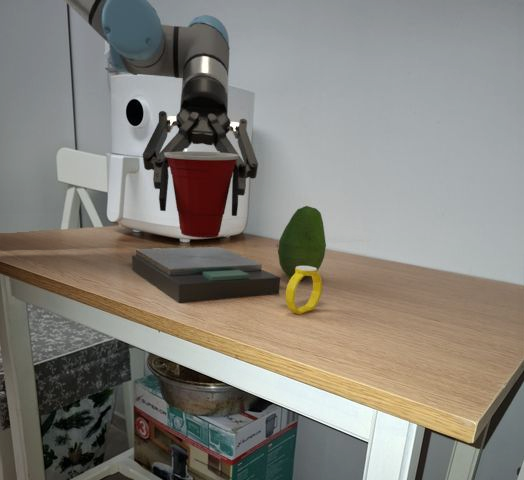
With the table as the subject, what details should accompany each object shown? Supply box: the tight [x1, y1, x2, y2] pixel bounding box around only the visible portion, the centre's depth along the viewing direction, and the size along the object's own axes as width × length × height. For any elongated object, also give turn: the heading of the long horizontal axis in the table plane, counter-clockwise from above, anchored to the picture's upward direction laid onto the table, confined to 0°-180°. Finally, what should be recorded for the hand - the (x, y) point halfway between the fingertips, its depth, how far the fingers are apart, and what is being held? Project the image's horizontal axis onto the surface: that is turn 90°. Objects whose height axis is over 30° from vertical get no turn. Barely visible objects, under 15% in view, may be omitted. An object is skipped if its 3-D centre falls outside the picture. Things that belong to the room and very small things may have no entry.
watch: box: [284, 266, 323, 315], centre depth 64 cm, size 6×3×6 cm, turn 136°
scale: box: [131, 246, 281, 304], centre depth 75 cm, size 19×16×4 cm
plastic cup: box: [164, 150, 240, 239], centre depth 72 cm, size 11×11×12 cm
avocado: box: [277, 205, 327, 281], centre depth 81 cm, size 8×8×12 cm
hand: (198, 207), depth 70 cm, fingers closed on plastic cup, 10 cm apart
